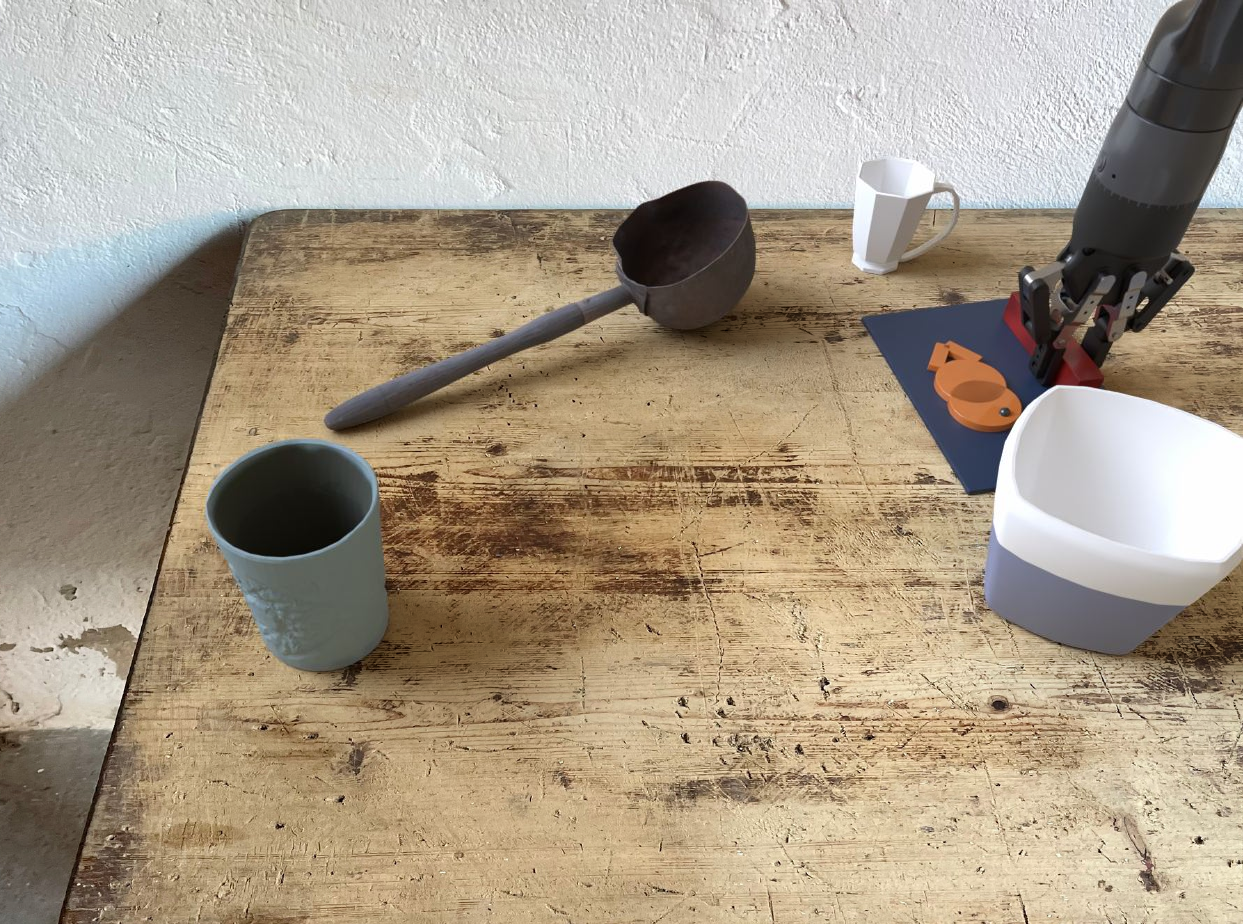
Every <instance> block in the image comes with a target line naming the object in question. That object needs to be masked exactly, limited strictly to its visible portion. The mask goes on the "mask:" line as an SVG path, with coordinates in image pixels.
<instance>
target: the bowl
mask: <svg viewBox="0 0 1243 924" xmlns="http://www.w3.org/2000/svg"><path fill="white" fill-rule="evenodd" d="M1107 390H1108V389H1107ZM1107 390H1101V389H1096V388H1091V387H1083V386H1065V385H1057V386H1054V387H1053V388H1051V389H1049V390H1047V391H1046V392H1045V393H1043V394H1042V395H1041V396H1039V397H1038V398H1037V399H1035V400H1034V401H1033V402H1032V403H1030V404H1029V405H1028V406H1027V408H1026V409H1025V410H1024V412H1023V413H1022V414H1021V415H1020V417H1019V418H1018V419H1017V421H1016V422H1015V424H1014V426H1013V428H1012V430H1011V432H1010V434H1009V436H1008V438H1007V440H1006V442H1005V445H1004V449H1003V453H1002V457H1001V461H1000V466H999V472H998V479H997V486H996V491H995V494H994V500H993V511H992V512H993V513H992V519H991V527H990V532H989V541H988V547H987V554H986V562H985V569H984V587H983V594H984V598H985V602H986V605H987V607H988V608H989V609H991V611H993V612H994V613H996V614H997V615H999V617H1001V618H1002V619H1005V620H1007V621H1008V622H1010V623H1012V624H1014V625H1017V626H1019V627H1021V628H1023V629H1025V630H1027V631H1029V632H1030V633H1033V634H1035V635H1037V636H1041V637H1043V638H1045V639H1048V640H1050V641H1052V642H1055V643H1059V644H1063V645H1066V646H1070V647H1073V648H1078V649H1084V650H1087V651H1088V650H1089V651H1093V652H1097V653H1102V654H1106V655H1107V654H1108V655H1128V654H1129V653H1131V652H1133V651H1134V650H1136V648H1138V647H1139V646H1140V645H1142V644H1143V643H1144V642H1146V640H1148V639H1149V638H1150V637H1152V636H1153V635H1154V634H1155V633H1157V632H1158V631H1159V630H1161V628H1163V627H1164V626H1166V624H1167V623H1169V622H1171V621H1172V620H1173V619H1175V618H1176V616H1178V615H1179V614H1180V613H1181V612H1183V611H1184V610H1185V609H1186V608H1188V607H1189V606H1190V605H1193V604H1194V603H1196V601H1197V600H1199V599H1201V597H1203V596H1205V594H1206V593H1208V592H1209V591H1210V590H1212V588H1214V587H1216V585H1218V584H1219V583H1220V582H1222V581H1223V580H1224V579H1225V578H1226V577H1227V576H1229V574H1230V573H1231V572H1232V571H1233V570H1235V568H1236V567H1238V565H1239V564H1241V562H1242V560H1243V436H1240V435H1239V434H1237V433H1235V432H1233V431H1232V430H1229V429H1227V428H1226V427H1224V426H1222V425H1220V424H1218V423H1217V422H1213V421H1211V420H1209V419H1205V418H1203V417H1200V416H1198V415H1196V414H1192V413H1190V412H1187V411H1185V410H1182V409H1179V408H1176V407H1173V406H1169V405H1166V404H1163V403H1160V402H1158V401H1154V400H1151V399H1147V398H1142V397H1139V396H1134V395H1130V394H1127V393H1123V392H1122V393H1121V392H1117V391H1112V390H1108V391H1107Z"/></svg>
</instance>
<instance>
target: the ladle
mask: <svg viewBox="0 0 1243 924" xmlns="http://www.w3.org/2000/svg"><path fill="white" fill-rule="evenodd" d="M754 234H755V233H754V229H753V224H752V220H751V216H750V212H749V207H748V205H747V201H746V199H745V197H743V196H742V195H741V194H740V193H739V192H738V191H737V190H736V189H735V188H734V187H732V186H731V185H730V184H729V183H727V182H725V181H722V180H702V181H697V182H695V183H691V184H689V185H686V186H684V187H681V188H678V189H675V190H673V191H670V192H668V193H666V194H664V195H662V196H659V197H658V198H654V199H650V200H647V201H643V202H642V203H640V204H638V205H637V207H635V209H634V210H633V211H632V212H631V213H630V214H629V215H628V216H627V217H626V218H625V219H624V220H623V222H622V223H621V224H620V225H619V226H618V227H617V229H616V231H615V232H614V233H613V236H612V239H611V245H612V247H613V250H614V252H615V255H616V257H617V260H618V261H615V262H614V267H615V273H616V275H617V279H618V281H619V283H620V285H618V286H615V287H613V288H610V289H607V290H605V291H602V292H599V293H597V294H595V295H592V296H589V297H587V298H584V299H581V300H579V301H574V302H571V303H568V304H566V305H564V306H561V307H559V308H556V309H554V310H551V311H549V312H547V313H544V314H541V315H539V316H538V317H536V318H533V320H531V321H529V322H527V323H526V324H523V325H522V326H520V327H518V328H516V329H514V330H512V331H510V332H509V333H506V334H504V335H502V336H500V337H498V338H495V339H493V340H491V341H487V342H486V343H484V344H483V343H482V344H481V345H478V346H476V347H473V348H471V349H468V350H466V351H463V352H461V353H458V354H455V355H453V356H451V357H447V358H445V359H443V360H440V361H437V362H435V363H432V364H430V365H427V366H425V367H421V368H418V369H416V370H414V371H411V372H408V373H406V374H403V375H400V376H398V377H395V378H393V379H390V380H388V381H386V382H384V383H381V384H378V385H377V386H374V387H371V388H369V389H367V390H365V391H363V392H361V393H359V394H357V395H355V396H353V397H351V398H349V399H347V400H345V401H344V402H342V403H340V404H339V405H336V406H335V407H334V408H332V409H331V410H329V412H327V414H326V415H325V416H324V418H323V423H324V425H325V427H326V428H327V429H328V430H331V431H338V430H343V429H347V428H350V427H351V428H352V427H355V426H358V425H362V424H364V423H367V422H371V421H374V420H377V419H380V418H382V417H384V416H386V415H389V414H391V413H393V412H396V411H398V410H400V409H403V408H405V407H406V406H409V405H411V404H413V403H415V402H417V401H419V400H421V399H423V398H426V397H427V396H429V395H431V394H434V393H435V392H437V391H439V390H441V389H443V388H445V387H448V386H449V385H451V384H453V383H455V382H457V381H459V380H461V379H464V378H465V377H467V376H469V375H471V374H474V373H476V372H477V371H479V370H481V369H484V368H486V367H488V366H490V365H493V364H494V363H497V362H499V361H501V360H503V359H506V358H508V357H510V356H513V355H515V354H517V353H519V352H523V351H525V350H529V349H531V348H533V347H537V346H540V345H543V344H546V343H549V342H553V341H554V340H557V339H559V338H561V337H563V336H565V335H568V334H569V333H572V332H574V331H576V330H578V329H580V328H582V327H583V326H584V327H585V326H586V325H589V324H590V323H592V322H594V321H597V320H598V319H600V318H603V317H605V316H607V315H609V314H612V313H614V312H616V311H619V310H620V309H621V310H622V309H623V308H625V307H628V306H630V305H633V304H634V305H635V307H636V308H637V310H638V312H639V313H640V314H642V315H643V316H645V317H648V318H649V319H651V320H652V321H654V322H656V323H658V324H659V325H661V326H664V327H666V328H668V329H669V328H670V329H675V330H696V329H699V328H703V327H705V326H708V325H710V324H713V323H716V322H718V321H720V319H722V318H724V316H726V315H728V314H729V313H730V312H732V310H734V309H735V307H736V306H737V305H738V304H739V303H740V302H741V300H742V299H743V298H744V296H745V295H746V294H747V292H748V290H749V288H750V287H751V284H752V282H753V280H754V275H755V271H756V265H757V264H756V263H757V247H756V246H757V243H756V238H755V235H754Z"/></svg>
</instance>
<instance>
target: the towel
mask: <svg viewBox="0 0 1243 924" xmlns="http://www.w3.org/2000/svg"><path fill="white" fill-rule="evenodd" d="M1009 298H1010V297H1006V298H997V299H990V300H989V299H988V300H983V301H982V300H981V301H974V302H973V301H972V302H967V303H958V304H951V305H949V304H948V305H942V306H934V307H926V308H919V309H910V310H903V311H894V312H885V313H878V314H871V315H863V316H861V319H860V321H861V323H862V324H863V326H864V327H865V329H866V331H867V332H868V334H869V336H870V338H871V339H872V340H873V342H874V344H875V346H876V347H877V348H878V351H879V352H880V354H881V356H882V357H883V358H884V360H885V362H886V363H887V366H888V367H889V368H890V370H891V372H892V373H893V375H894V376H895V378H896V380H897V381H898V383H899V384H900V386H901V388H902V389H903V391H904V393H905V394H906V396H907V398H908V399H909V401H910V403H911V404H912V406H913V407H914V409H915V411H916V413H917V414H918V415H919V417H920V419H921V421H922V423H923V424H924V425H925V428H926V429H927V430H928V432H929V434H930V435H931V437H932V438H933V440H934V442H935V443H936V445H937V447H938V449H939V450H940V451H941V454H942V455H943V457H944V458H945V460H946V461H947V463H948V465H949V467H950V468H951V469H952V471H953V474H954V475H955V476H956V478H957V480H958V481H959V483H960V484H961V486H962V487H963V489H964V491H965V492H966V494H967V496H970V495H976V494H977V495H978V494H984V493H989V492H996V486H997V479H998V472H999V466H1000V461H1001V457H1002V453H1003V449H1004V445H1005V442H1006V440H1007V438H1008V436H1009V434H1010V432H1011V430H1012V428H1013V427H1011V428H1010V429H1007V430H1005V431H1001V432H981V431H976V430H973V429H970V428H968V427H966V426H964V425H962V424H960V423H959V422H958V421H956V420H955V419H954V418H953V417H952V415H951V414H950V412H949V410H948V406H947V402H946V401H945V400H944V399H942V398H941V397H940V396H939V395H938V393H937V392H936V390H935V387H934V378H935V375H936V372H935V371H931V370H927V368H928V365H929V362H930V359H931V357H932V354H933V351H934V348H935V346H936V343H937V342H938V343H942V344H946V343H947V342H949V341H952V342H954V343H956V344H958V345H960V346H962V347H964V348H966V349H968V350H970V351H972V352H974V353H976V354H978V355H980V356H982V357H983V358H982V361H981V362H982V363H984V364H987V365H989V366H991V367H993V368H994V369H996V370H997V371H998V372H999V373H1000V374H1001V375H1002V376H1003V378H1004V379H1005V382H1006V388H1007V389H1009V390H1010V391H1012V392H1013V393H1014V394H1015V395H1016V396H1017V397H1018V399H1019V400H1020V403H1021V407H1022V411H1021V414H1022V413H1023V412H1024V410H1025V409H1026V408H1027V406H1028V405H1029V404H1030V403H1032V402H1033V401H1034V400H1035V399H1037V398H1038V397H1039V396H1041V395H1042V394H1043V393H1045V392H1046V391H1047V390H1049V389H1051V388H1053V386H1052V384H1051V383H1050V384H1045V385H1040V384H1039V383H1038V381H1037V380H1036V378H1035V377H1034V376H1033V374H1032V372H1031V371H1030V369H1029V362H1030V359H1031V358H1032V357H1031V356H1030V355H1029V353H1028V352H1027V351H1026V349H1025V348H1024V347H1023V345H1022V344H1021V343H1020V341H1019V340H1018V338H1017V337H1016V336H1015V334H1014V333H1013V332H1012V330H1011V329H1010V328H1009V326H1008V325H1007V324H1006V322H1005V321H1004V320H1003V318H1002V317H1003V314H1004V311H1005V309H1006V306H1007V303H1008V301H1009ZM954 360H955V359H953V358H951V357H949V356H947V359H946V362H945V363H947V362H950V361H954ZM1100 389H1101V390H1107V391H1109V390H1108V389H1107V388H1106V386H1105V385H1104V384H1103V383H1102V385H1101V387H1100ZM1021 414H1020V415H1021Z"/></svg>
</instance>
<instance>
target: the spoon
mask: <svg viewBox="0 0 1243 924" xmlns="http://www.w3.org/2000/svg"><path fill="white" fill-rule="evenodd" d="M1008 298H1009V301H1008V303H1007V306H1006V309H1005V311H1004V314H1003V317H1002V318H1003V320H1004V321H1005V322H1006V324H1007V325H1008V326H1009V328H1010V329H1011V330H1012V332H1013V333H1014V334H1015V336H1016V337H1017V338H1018V340H1019V341H1020V343H1021V344H1022V345H1023V347H1024V348H1025V349H1026V351H1027V352H1028V353H1029V355H1030V356H1031V357H1032V354H1033V352H1034V350H1035V347H1036V345H1037V344H1036V343H1035V341H1034V340H1033V339H1032V337H1031V336H1030V335H1029V333H1028V332H1027V331H1026V329H1025V328H1024V327H1023V325H1022V322H1021V309H1020V295H1019V290H1015V291H1011V293H1010V296H1009V297H1008ZM1062 322H1063V321H1062V320H1061V321H1060V322H1059V324H1058V325H1059V326H1060V325H1061V324H1062ZM1065 347H1066V348H1067V349H1066V351H1065V353H1064V356H1063V358H1062V360H1061V362H1060V365H1059V367H1058V369H1057V371H1056V374H1055V376H1054V378H1053V380H1052V382H1051V384H1052V386H1053V387H1054V386H1057V385H1065V386H1083V387H1091V388H1096V389H1100V387H1101V385H1102V384H1103V383H1104V381H1105V379H1106V376H1105V375H1104V374H1103V371H1101V370H1100V369H1099V368H1098V367H1097V366H1096V365H1095V363H1094V362H1093V361H1092V360H1091V358H1090V357H1089V356H1088V355H1087V353H1086V352H1085V351H1084V350H1083V348H1082V347H1081V346H1080V343H1079V342H1078V341H1077V339H1076V338H1075V337H1074V335H1073V336H1072V337H1071V339H1070V340H1069V342H1068V343H1067V345H1066V346H1065Z"/></svg>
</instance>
